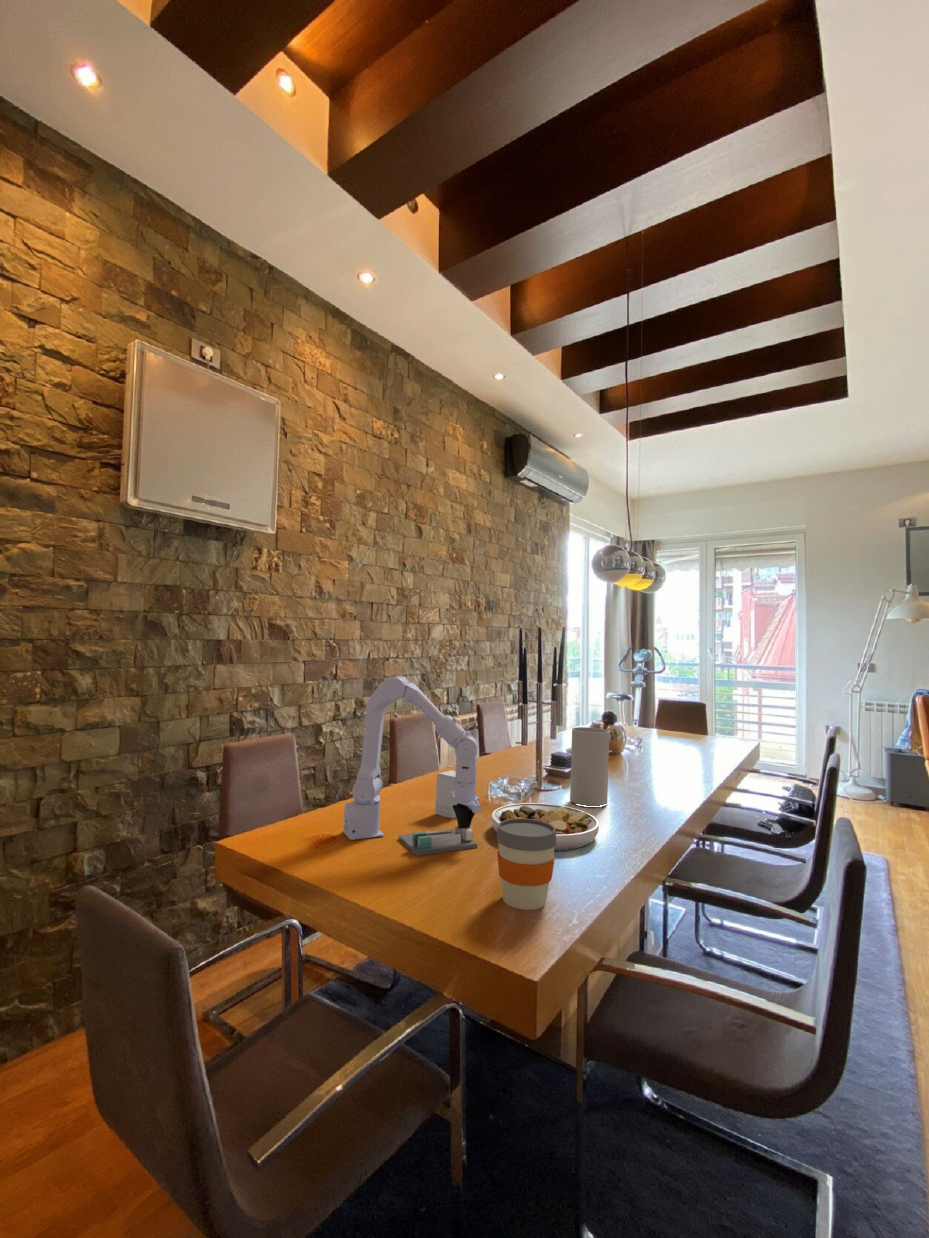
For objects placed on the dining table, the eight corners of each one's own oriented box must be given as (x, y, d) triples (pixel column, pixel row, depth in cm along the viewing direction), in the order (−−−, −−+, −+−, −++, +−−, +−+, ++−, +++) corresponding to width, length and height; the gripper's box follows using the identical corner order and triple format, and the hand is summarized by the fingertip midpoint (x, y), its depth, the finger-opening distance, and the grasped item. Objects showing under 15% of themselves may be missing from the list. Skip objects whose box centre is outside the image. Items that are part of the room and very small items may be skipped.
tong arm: (413, 846, 146) (414, 834, 146) (412, 844, 147) (412, 832, 147) (452, 841, 150) (452, 830, 150) (450, 839, 152) (450, 828, 152)
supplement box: (453, 819, 174) (454, 777, 174) (434, 814, 178) (436, 772, 179) (467, 814, 180) (469, 773, 180) (449, 809, 184) (450, 769, 185)
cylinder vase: (562, 802, 198) (564, 728, 199) (584, 796, 206) (586, 726, 207) (593, 810, 189) (595, 733, 190) (614, 804, 197) (616, 731, 198)
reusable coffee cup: (567, 904, 119) (569, 830, 120) (521, 919, 112) (524, 841, 112) (527, 882, 129) (529, 815, 130) (482, 895, 122) (484, 823, 123)
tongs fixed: (419, 850, 144) (419, 835, 144) (414, 845, 147) (415, 831, 147) (465, 844, 150) (466, 830, 150) (460, 839, 153) (460, 826, 153)
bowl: (499, 815, 181) (500, 789, 181) (597, 824, 175) (598, 798, 175) (482, 847, 152) (483, 816, 152) (599, 860, 145) (600, 828, 146)
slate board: (416, 855, 143) (416, 851, 143) (398, 839, 155) (398, 835, 155) (477, 847, 150) (477, 843, 150) (455, 832, 162) (456, 828, 162)
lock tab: (466, 840, 151) (466, 831, 152) (462, 837, 154) (462, 828, 154) (472, 839, 152) (473, 830, 152) (468, 836, 154) (469, 827, 155)
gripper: (491, 786, 151) (489, 839, 150) (466, 774, 164) (465, 823, 163) (467, 788, 148) (465, 842, 147) (444, 776, 161) (442, 825, 160)
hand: (463, 832), depth 155 cm, fingers closed
